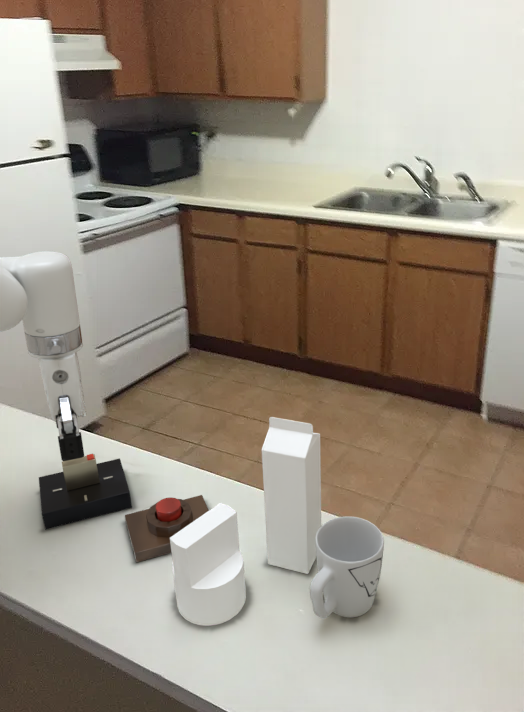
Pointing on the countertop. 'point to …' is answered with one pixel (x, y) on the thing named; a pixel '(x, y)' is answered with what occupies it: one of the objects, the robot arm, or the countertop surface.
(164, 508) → the timer button
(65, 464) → the knob
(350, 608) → the mug
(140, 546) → the brown button base
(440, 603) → the countertop surface
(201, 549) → the cylinder with rectangular tab
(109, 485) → the panel
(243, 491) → the countertop surface
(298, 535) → the milk
